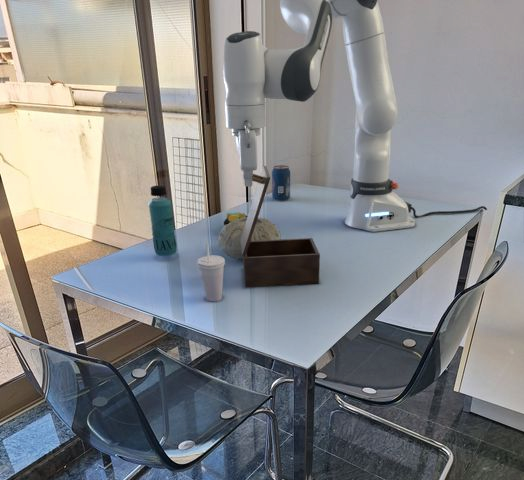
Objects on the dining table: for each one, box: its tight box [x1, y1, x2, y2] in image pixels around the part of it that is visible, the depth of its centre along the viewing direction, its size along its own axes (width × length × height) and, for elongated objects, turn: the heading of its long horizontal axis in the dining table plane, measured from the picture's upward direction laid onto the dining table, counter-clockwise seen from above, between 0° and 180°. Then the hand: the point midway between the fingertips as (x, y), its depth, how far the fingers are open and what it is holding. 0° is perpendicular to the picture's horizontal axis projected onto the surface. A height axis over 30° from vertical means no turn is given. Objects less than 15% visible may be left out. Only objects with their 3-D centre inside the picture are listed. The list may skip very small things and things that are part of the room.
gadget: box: [223, 211, 248, 226], centre depth 163 cm, size 6×13×6 cm, turn 174°
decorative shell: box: [217, 216, 281, 260], centre depth 142 cm, size 18×18×10 cm
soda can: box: [271, 164, 291, 202], centre depth 191 cm, size 7×7×12 cm
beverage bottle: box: [147, 184, 178, 257], centre depth 140 cm, size 6×7×20 cm
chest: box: [242, 237, 321, 289], centre depth 129 cm, size 19×12×8 cm, turn 94°
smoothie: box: [197, 241, 226, 302], centre depth 117 cm, size 6×6×14 cm
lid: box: [241, 165, 271, 257], centre depth 121 cm, size 19×12×5 cm
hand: (247, 182), depth 118 cm, fingers closed on lid, 5 cm apart
